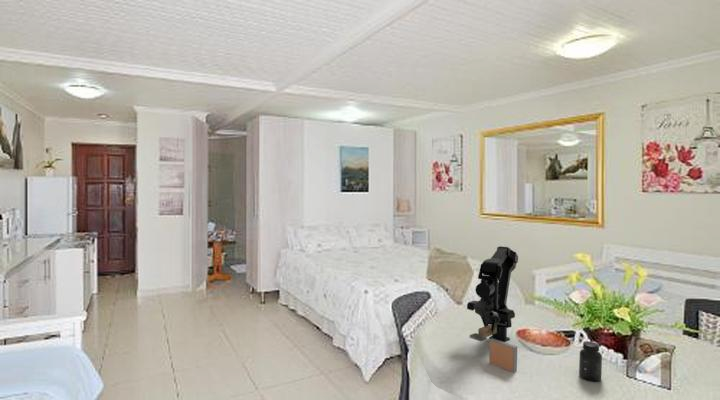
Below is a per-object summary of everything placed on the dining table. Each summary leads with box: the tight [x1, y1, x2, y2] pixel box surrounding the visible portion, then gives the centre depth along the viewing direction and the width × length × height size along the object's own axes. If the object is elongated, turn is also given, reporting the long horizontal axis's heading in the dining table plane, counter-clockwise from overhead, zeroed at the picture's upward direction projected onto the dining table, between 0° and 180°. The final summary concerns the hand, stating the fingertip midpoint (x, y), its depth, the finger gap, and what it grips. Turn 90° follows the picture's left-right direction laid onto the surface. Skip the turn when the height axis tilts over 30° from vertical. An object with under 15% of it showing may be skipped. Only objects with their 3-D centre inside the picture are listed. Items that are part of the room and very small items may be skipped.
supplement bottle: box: [578, 340, 603, 383], centre depth 145 cm, size 7×7×12 cm
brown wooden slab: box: [469, 324, 497, 342], centre depth 166 cm, size 13×5×3 cm, turn 130°
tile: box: [488, 338, 518, 373], centre depth 153 cm, size 2×10×9 cm, turn 40°
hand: (489, 330), depth 168 cm, fingers closed on brown wooden slab, 3 cm apart
